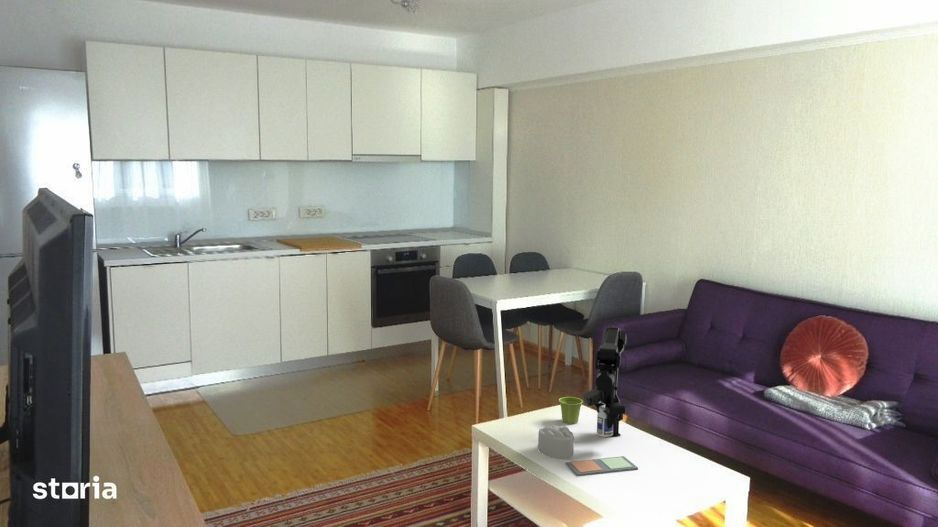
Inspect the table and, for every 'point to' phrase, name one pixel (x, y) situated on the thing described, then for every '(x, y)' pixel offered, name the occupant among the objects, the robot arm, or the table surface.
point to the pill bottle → (603, 424)
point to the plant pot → (570, 409)
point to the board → (601, 466)
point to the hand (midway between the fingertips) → (605, 425)
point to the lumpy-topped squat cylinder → (556, 442)
